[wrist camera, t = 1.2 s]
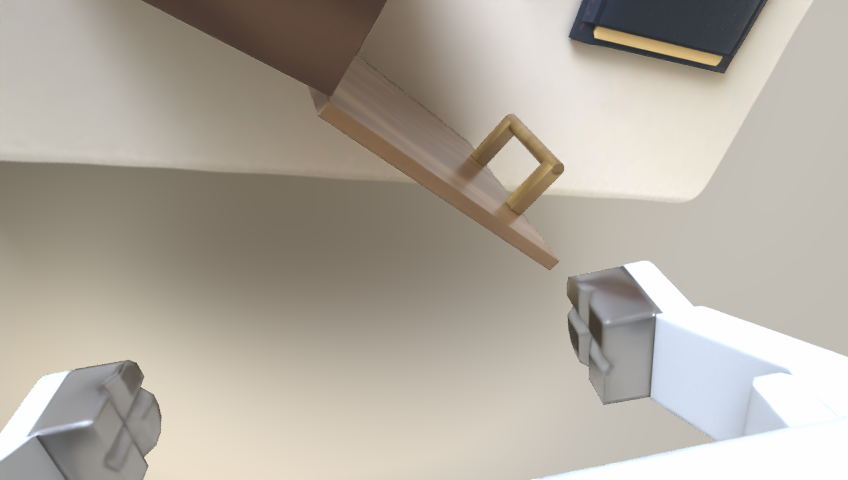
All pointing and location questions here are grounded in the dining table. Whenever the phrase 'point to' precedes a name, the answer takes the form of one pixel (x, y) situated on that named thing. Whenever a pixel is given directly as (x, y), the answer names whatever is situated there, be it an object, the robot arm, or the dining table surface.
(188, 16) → the cupboard
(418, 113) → the cupboard door
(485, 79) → the dining table surface
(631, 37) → the wallet
